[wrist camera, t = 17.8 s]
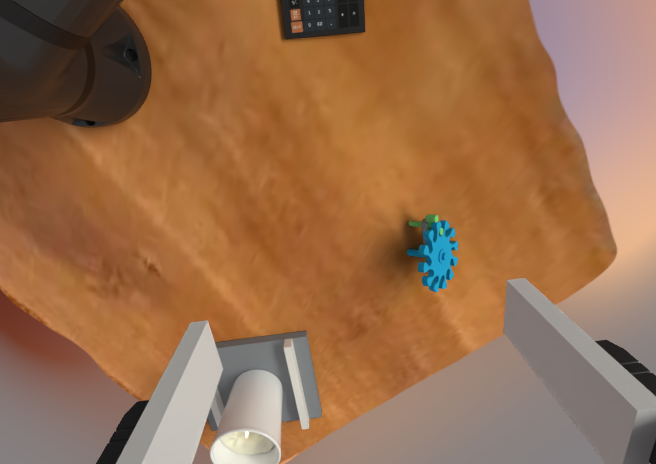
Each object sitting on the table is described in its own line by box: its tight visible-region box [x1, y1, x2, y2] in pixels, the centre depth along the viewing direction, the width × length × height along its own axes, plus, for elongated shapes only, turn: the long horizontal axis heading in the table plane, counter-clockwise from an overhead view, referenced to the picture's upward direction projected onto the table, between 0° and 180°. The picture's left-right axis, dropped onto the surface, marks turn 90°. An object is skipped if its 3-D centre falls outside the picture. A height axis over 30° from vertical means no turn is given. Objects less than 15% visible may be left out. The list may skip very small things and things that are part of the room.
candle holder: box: [210, 369, 282, 464], centre depth 55 cm, size 10×10×12 cm
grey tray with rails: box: [207, 331, 322, 431], centre depth 60 cm, size 20×18×4 cm
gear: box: [407, 215, 458, 292], centre depth 50 cm, size 11×6×10 cm
